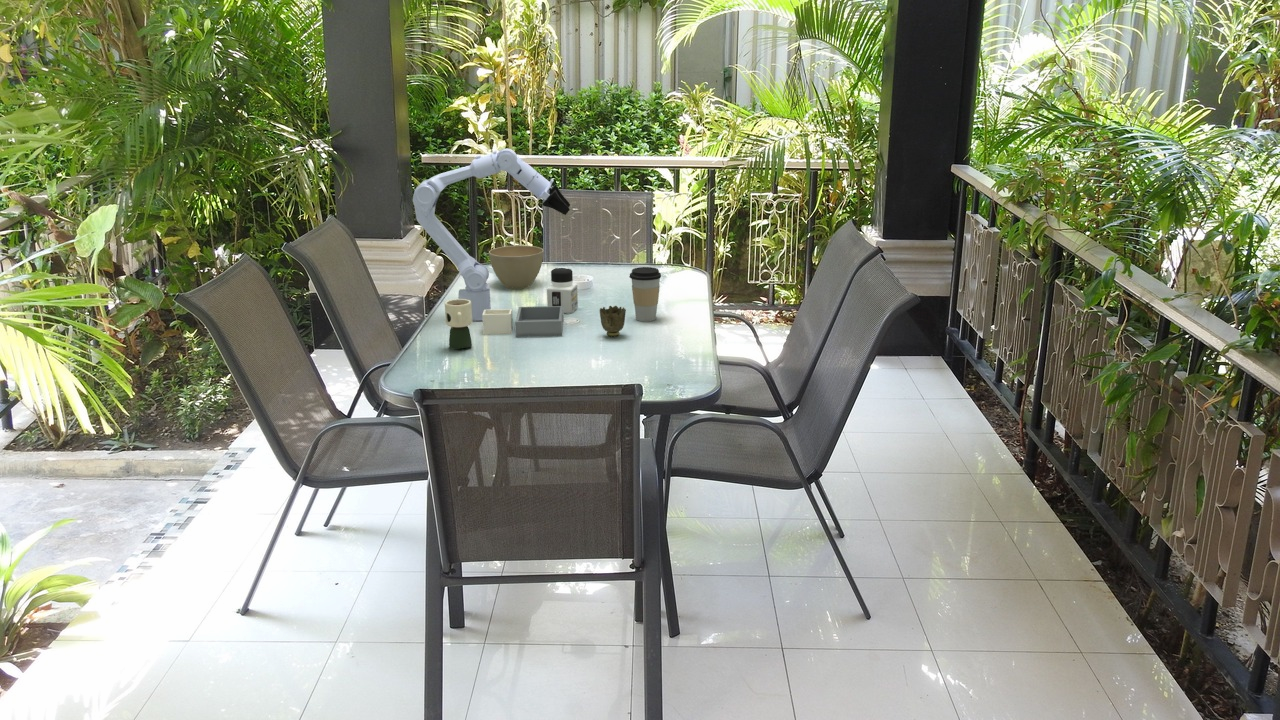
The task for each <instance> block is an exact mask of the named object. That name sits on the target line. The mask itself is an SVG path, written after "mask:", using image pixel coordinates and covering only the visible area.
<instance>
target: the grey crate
mask: <svg viewBox="0 0 1280 720" xmlns="http://www.w3.org/2000/svg"><path fill="white" fill-rule="evenodd" d="M514 323H515V324H514V326H515V338H535V337H536V338H537V337H563V330H564V313H563V306H547V305H545V306H543V305H542V306H519V307H518V309H517V313H516V317H515V322H514Z"/></svg>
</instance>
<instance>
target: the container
mask: <svg viewBox="0 0 1280 720" xmlns="http://www.w3.org/2000/svg"><path fill="white" fill-rule="evenodd" d="M573 274H574V273H573V270H572V269H571V268H570V267H569V268H568V267H555V268H553V269H552V270H551V271H550V278H551V279H550V281H551V282H550V283H551V284H550V285H549V286H548V287H547V288H546V301H547V303H546V306H563V314H573V312H574V311H576V310H577V309H578V306H579V300H578V299H579V297H578V295H579V294H578V292H579V291H578V283H576V282H574V281H573V280H574V278H573Z"/></svg>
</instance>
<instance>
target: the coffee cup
mask: <svg viewBox="0 0 1280 720" xmlns="http://www.w3.org/2000/svg"><path fill="white" fill-rule="evenodd" d="M629 278H630V279H631V291H632V299H633V304H634V312H635V320H637V321H639V322H644V323H645V322H647V323H648V322H653V321H655V320H656V319H657V309H658V304H659V295H660V288H661V287H660V280H661V278H662V273H661V272H660V271H659V269H658V268H656V267H651V266H650V267H649V266H640V267H634V268H632V269H631V272H630V273H629Z"/></svg>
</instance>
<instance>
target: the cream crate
mask: <svg viewBox="0 0 1280 720" xmlns="http://www.w3.org/2000/svg"><path fill="white" fill-rule="evenodd" d="M482 318H483V321H482V332H483V335H484V336H485V335H488V336H489V335H512V333H513V328H514V326H513V323H514V322H513V309H512V308H505V309H504V308H503V309H502V308H501V309H498V308H497V309H493V308H492V309H491V310H484V312H483V314H482Z"/></svg>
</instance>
